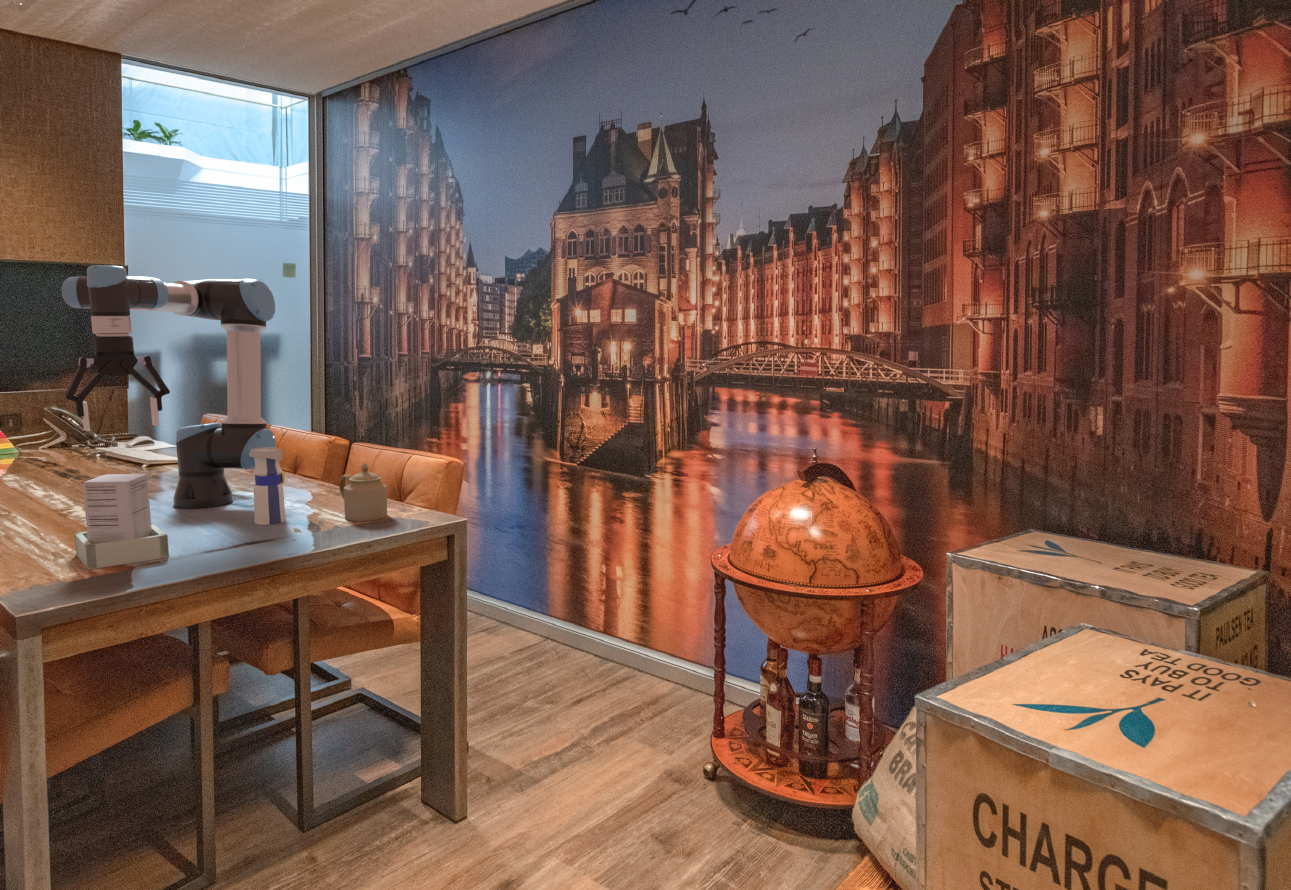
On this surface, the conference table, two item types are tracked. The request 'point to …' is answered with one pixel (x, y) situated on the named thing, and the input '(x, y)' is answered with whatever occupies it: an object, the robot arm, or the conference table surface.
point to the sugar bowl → (363, 496)
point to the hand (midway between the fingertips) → (122, 428)
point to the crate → (121, 550)
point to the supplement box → (117, 507)
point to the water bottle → (268, 486)
